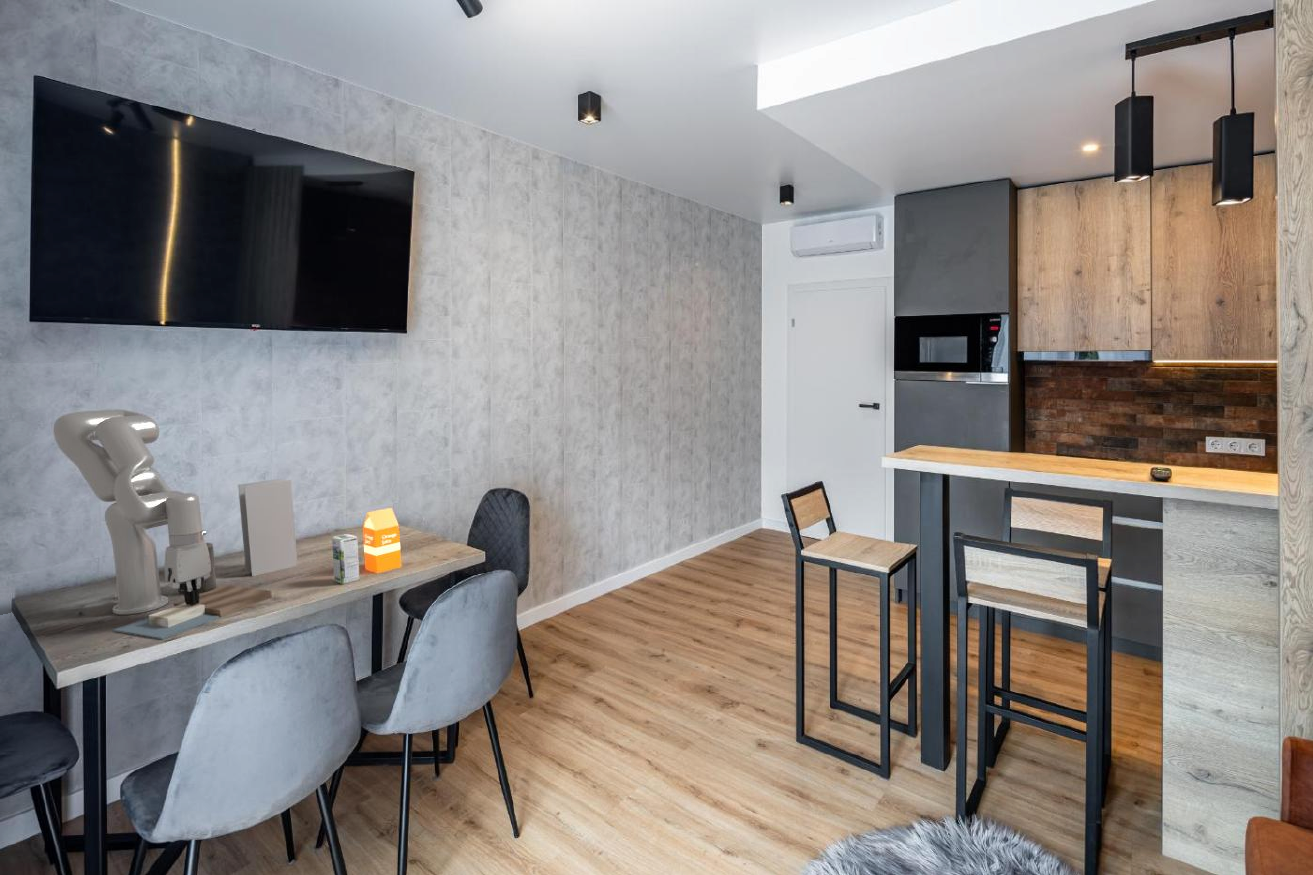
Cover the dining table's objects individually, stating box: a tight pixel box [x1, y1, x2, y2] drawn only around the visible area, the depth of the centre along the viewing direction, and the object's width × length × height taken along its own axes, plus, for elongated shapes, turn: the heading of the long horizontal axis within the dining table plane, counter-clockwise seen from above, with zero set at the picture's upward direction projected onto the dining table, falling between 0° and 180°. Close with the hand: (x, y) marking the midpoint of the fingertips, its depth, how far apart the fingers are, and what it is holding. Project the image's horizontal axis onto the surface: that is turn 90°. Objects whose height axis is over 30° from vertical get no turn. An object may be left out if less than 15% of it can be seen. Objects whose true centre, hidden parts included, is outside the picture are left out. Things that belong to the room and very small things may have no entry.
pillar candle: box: [177, 542, 217, 595], centre depth 203 cm, size 10×10×15 cm
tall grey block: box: [237, 478, 298, 577], centre depth 221 cm, size 14×6×30 cm, turn 141°
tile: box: [148, 603, 205, 627], centre depth 178 cm, size 7×10×2 cm
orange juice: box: [362, 507, 402, 574], centre depth 221 cm, size 8×9×20 cm
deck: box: [173, 584, 273, 618], centre depth 191 cm, size 18×16×2 cm
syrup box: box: [331, 533, 360, 585], centre depth 209 cm, size 6×6×14 cm
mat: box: [113, 614, 220, 641], centre depth 176 cm, size 18×15×1 cm
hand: (192, 603), depth 182 cm, fingers closed
